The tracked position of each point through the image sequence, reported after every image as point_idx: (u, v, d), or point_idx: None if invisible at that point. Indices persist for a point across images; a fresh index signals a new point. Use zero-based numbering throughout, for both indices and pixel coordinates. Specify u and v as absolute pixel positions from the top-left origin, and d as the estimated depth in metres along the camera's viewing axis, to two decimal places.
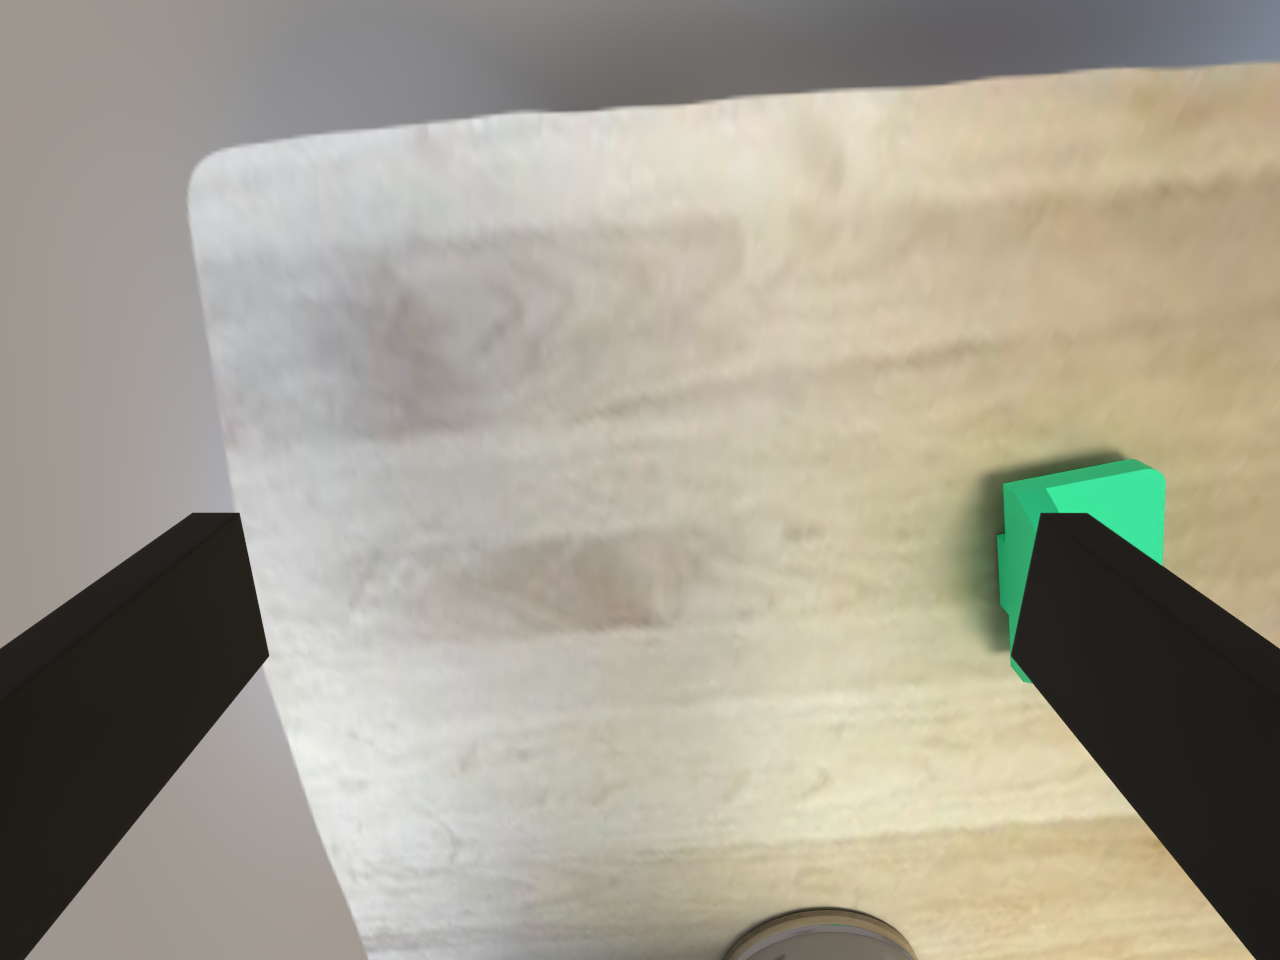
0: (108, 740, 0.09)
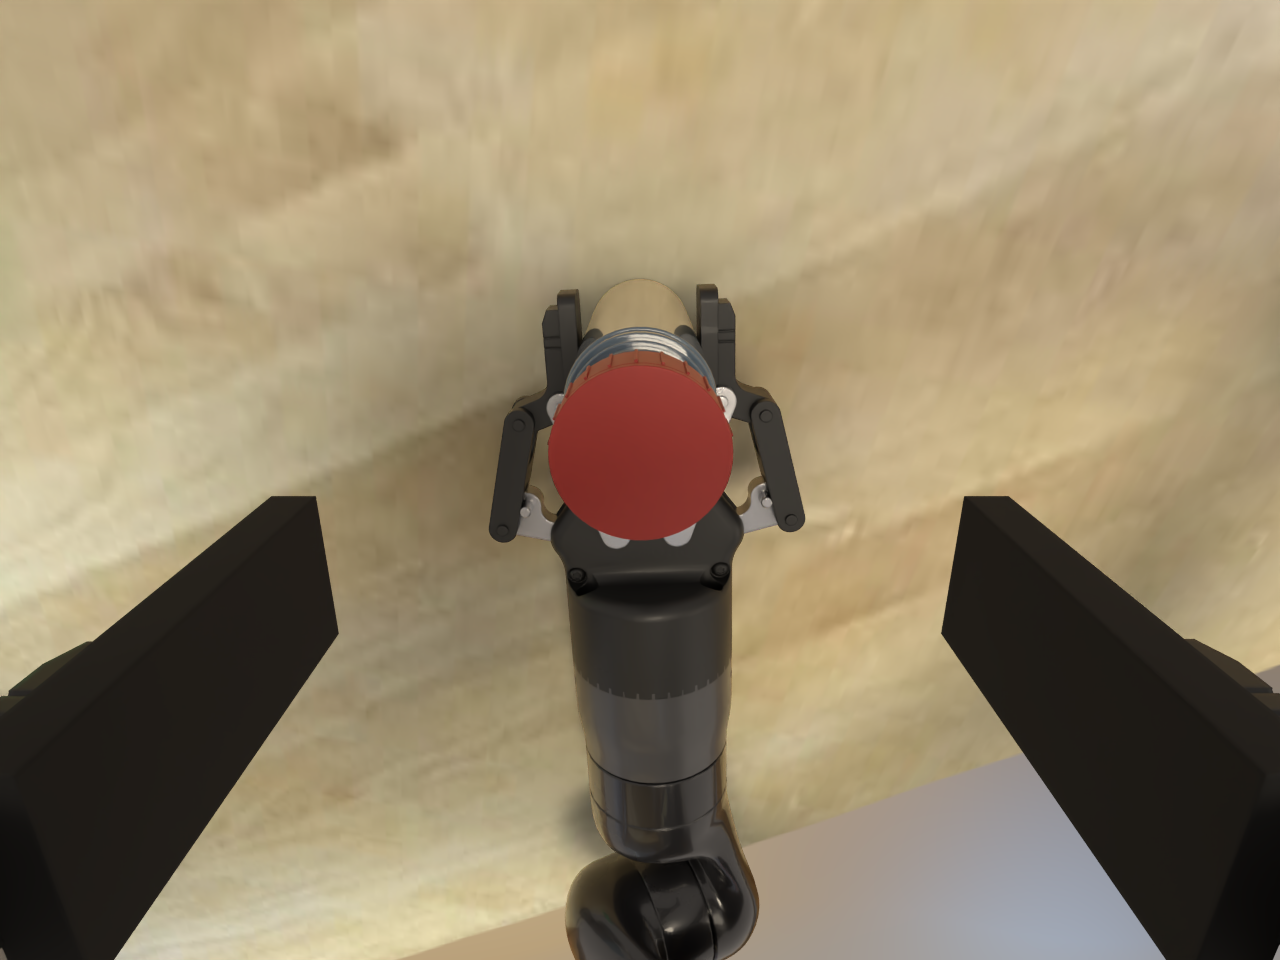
0: (217, 703, 0.10)
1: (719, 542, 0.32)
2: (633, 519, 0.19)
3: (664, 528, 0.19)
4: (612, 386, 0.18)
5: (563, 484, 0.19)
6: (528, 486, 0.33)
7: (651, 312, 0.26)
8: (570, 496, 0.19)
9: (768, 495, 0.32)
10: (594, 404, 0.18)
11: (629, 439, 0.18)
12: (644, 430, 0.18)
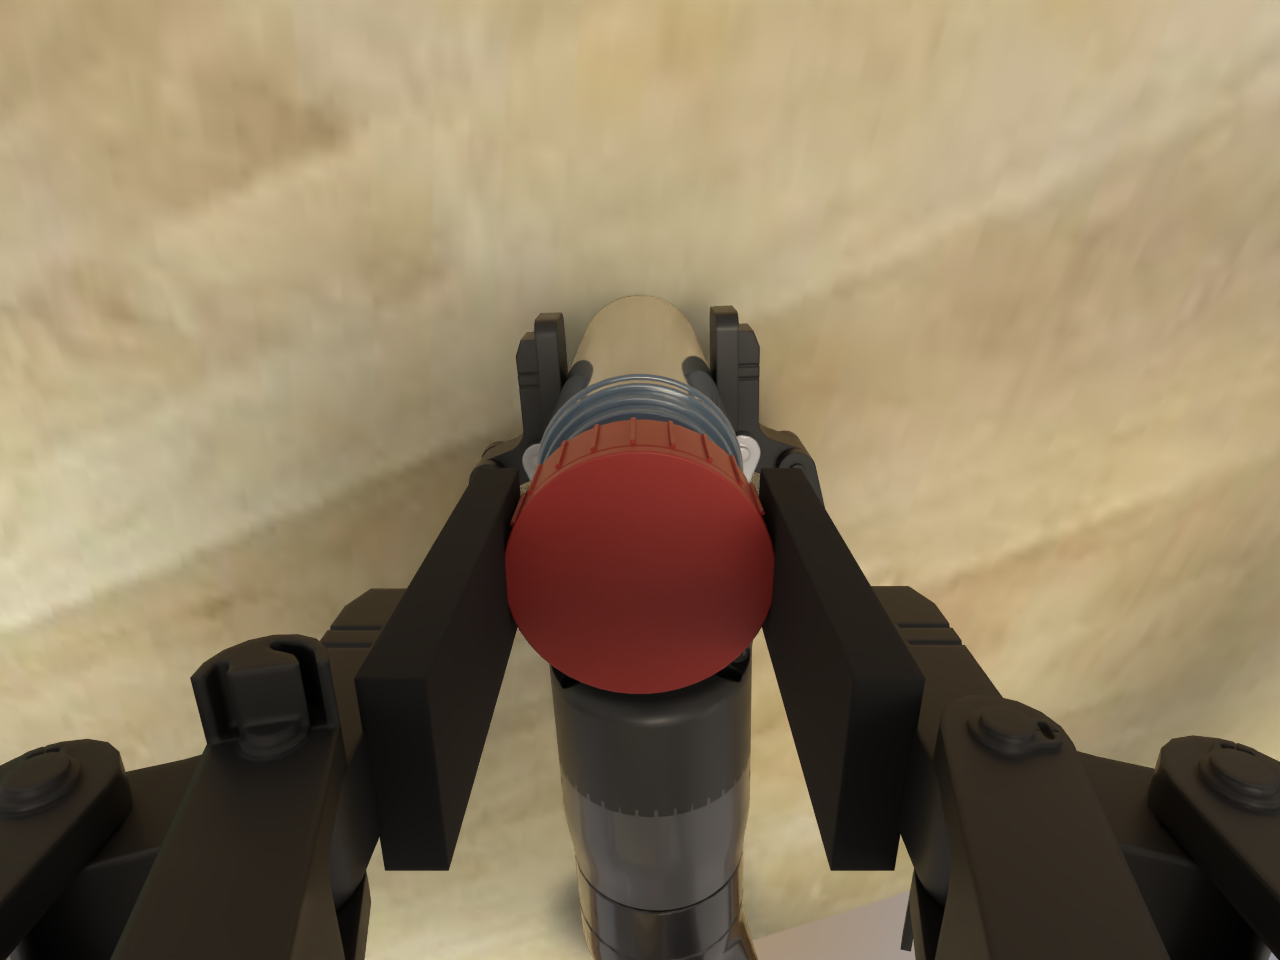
0: (486, 642, 0.11)
1: None
2: (629, 666, 0.13)
3: (674, 678, 0.13)
4: (597, 481, 0.12)
5: (526, 618, 0.13)
6: None
7: (654, 348, 0.19)
8: (536, 635, 0.13)
9: None
10: (570, 506, 0.12)
11: (623, 556, 0.12)
12: (645, 544, 0.12)
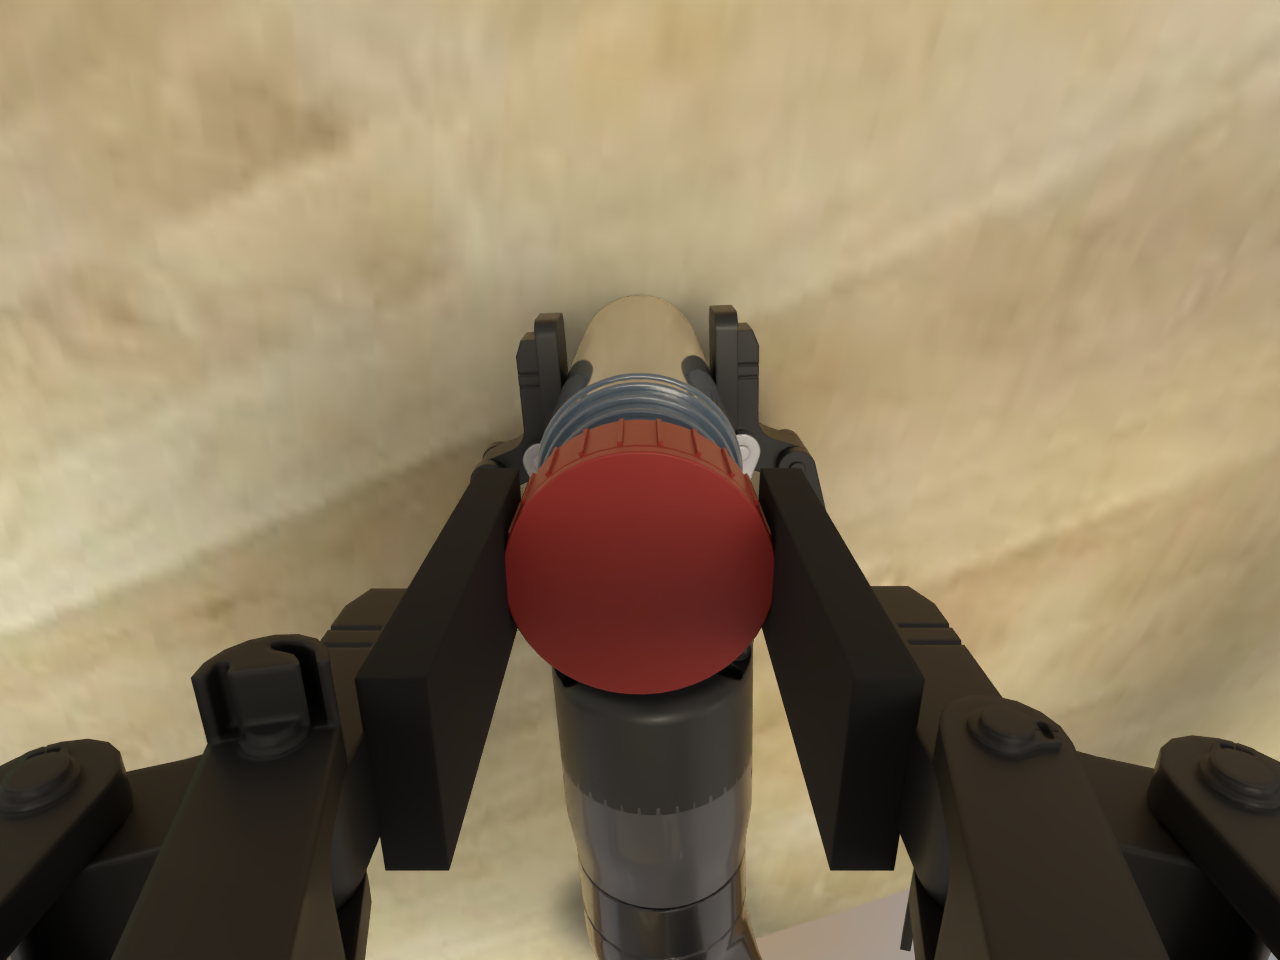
0: (487, 642, 0.11)
1: None
2: (740, 570, 0.13)
3: (747, 524, 0.12)
4: (547, 636, 0.13)
5: (705, 668, 0.13)
6: None
7: (653, 347, 0.20)
8: (721, 656, 0.13)
9: None
10: (578, 652, 0.13)
11: (617, 600, 0.13)
12: (598, 585, 0.13)
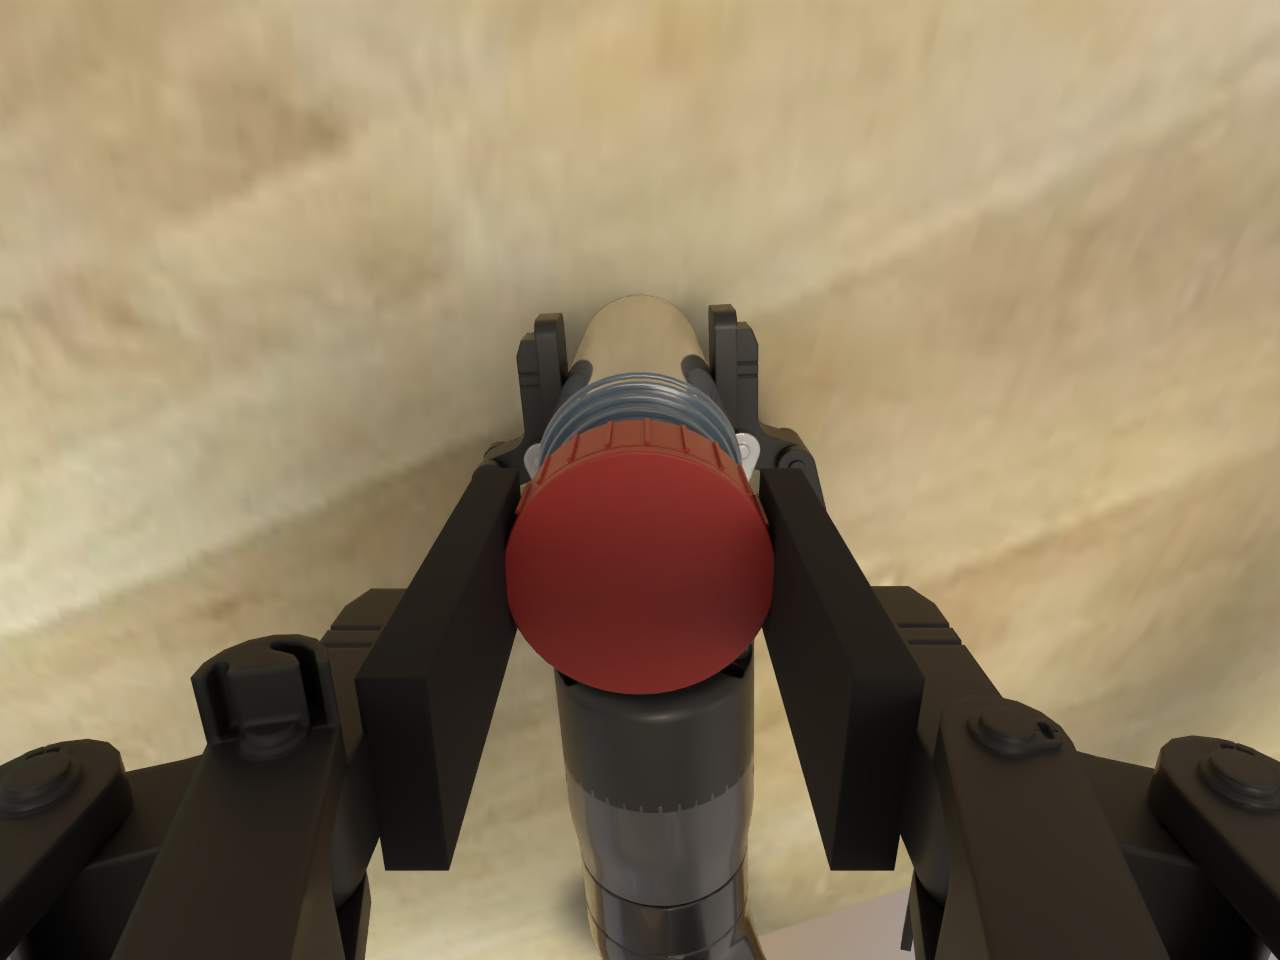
0: (486, 642, 0.11)
1: None
2: (602, 493, 0.12)
3: (551, 500, 0.12)
4: (720, 647, 0.13)
5: (727, 497, 0.12)
6: None
7: (652, 346, 0.20)
8: (709, 484, 0.12)
9: None
10: (733, 617, 0.13)
11: (666, 596, 0.13)
12: (652, 616, 0.13)
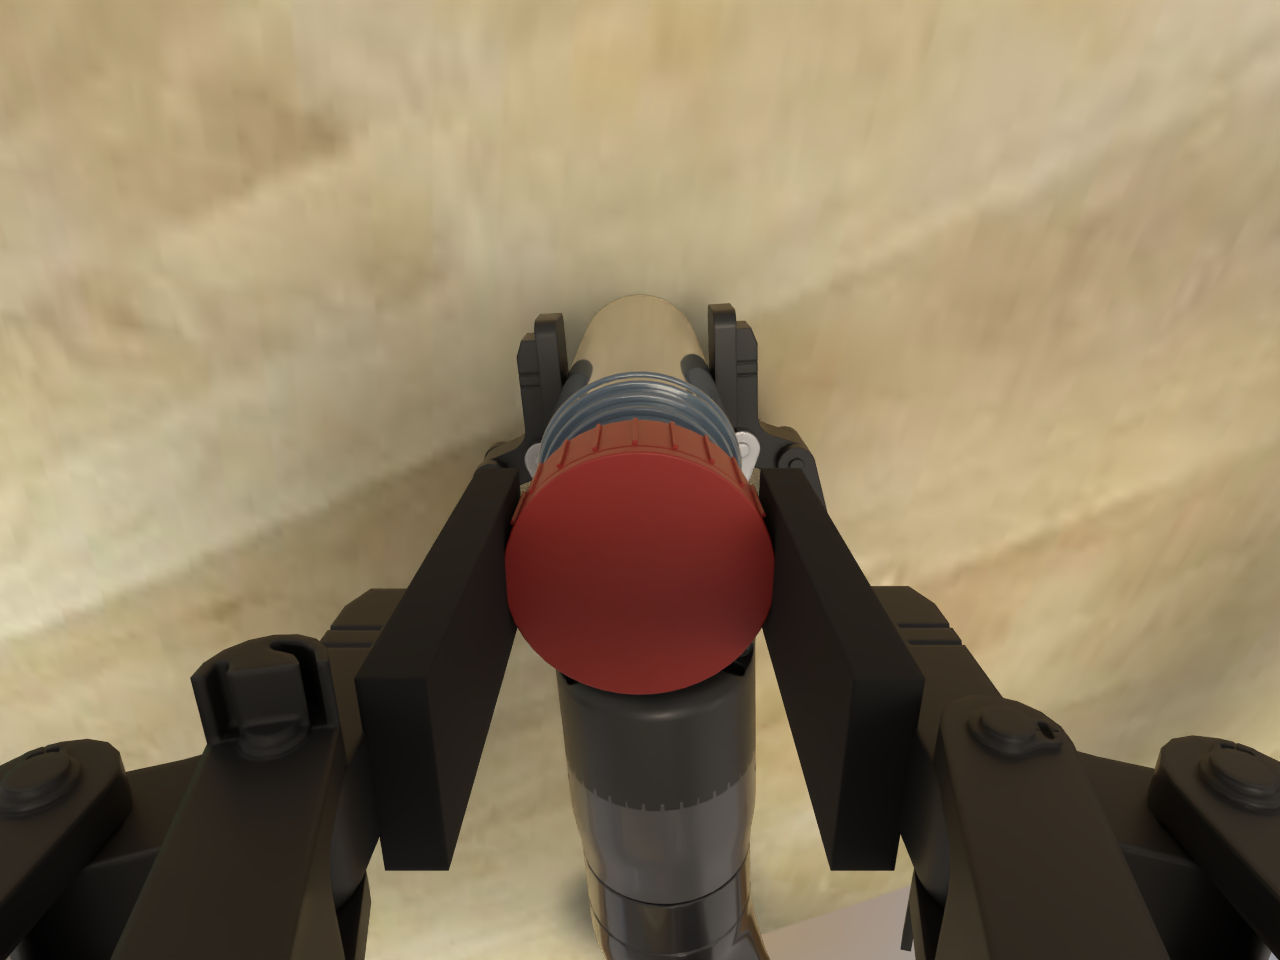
0: (486, 643, 0.11)
1: None
2: (557, 630, 0.13)
3: (577, 667, 0.13)
4: (698, 489, 0.12)
5: (528, 526, 0.12)
6: None
7: (652, 346, 0.20)
8: (521, 544, 0.12)
9: None
10: (659, 485, 0.12)
11: (649, 554, 0.12)
12: (675, 561, 0.12)
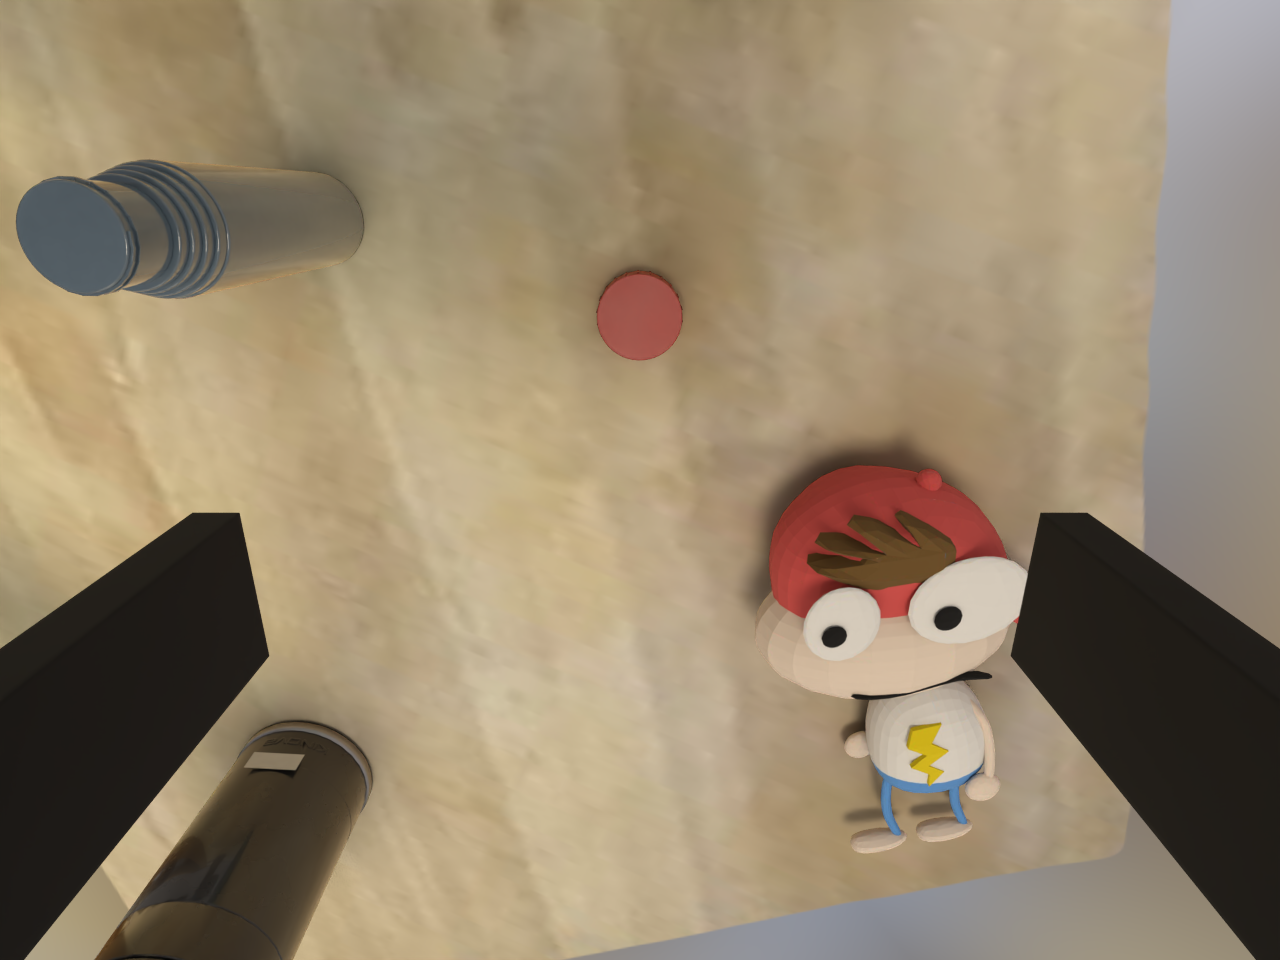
0: (108, 740, 0.09)
1: None
2: (613, 335, 0.41)
3: (619, 349, 0.41)
4: (657, 286, 0.40)
5: (605, 298, 0.40)
6: None
7: (269, 250, 0.31)
8: (603, 305, 0.40)
9: None
10: (645, 285, 0.40)
11: (642, 308, 0.40)
12: (650, 311, 0.40)
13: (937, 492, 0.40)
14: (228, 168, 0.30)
